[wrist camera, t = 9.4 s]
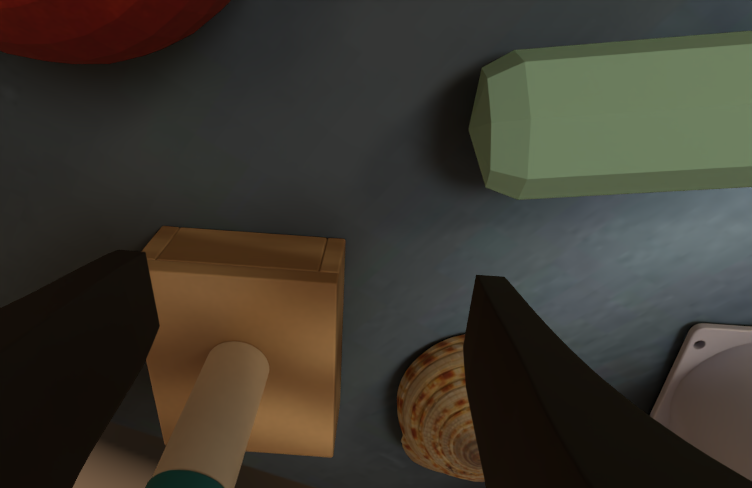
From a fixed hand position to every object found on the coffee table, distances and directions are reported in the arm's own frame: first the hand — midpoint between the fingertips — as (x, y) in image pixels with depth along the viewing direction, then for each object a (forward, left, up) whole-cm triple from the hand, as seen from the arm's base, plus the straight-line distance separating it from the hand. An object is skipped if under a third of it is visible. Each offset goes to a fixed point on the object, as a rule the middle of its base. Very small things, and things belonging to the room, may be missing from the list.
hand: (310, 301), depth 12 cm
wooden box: (-9, +4, -10) cm, 14 cm away
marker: (-9, +4, -7) cm, 12 cm away
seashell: (-13, -7, -10) cm, 18 cm away
